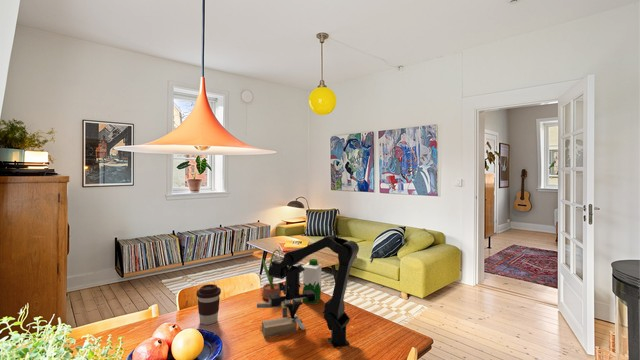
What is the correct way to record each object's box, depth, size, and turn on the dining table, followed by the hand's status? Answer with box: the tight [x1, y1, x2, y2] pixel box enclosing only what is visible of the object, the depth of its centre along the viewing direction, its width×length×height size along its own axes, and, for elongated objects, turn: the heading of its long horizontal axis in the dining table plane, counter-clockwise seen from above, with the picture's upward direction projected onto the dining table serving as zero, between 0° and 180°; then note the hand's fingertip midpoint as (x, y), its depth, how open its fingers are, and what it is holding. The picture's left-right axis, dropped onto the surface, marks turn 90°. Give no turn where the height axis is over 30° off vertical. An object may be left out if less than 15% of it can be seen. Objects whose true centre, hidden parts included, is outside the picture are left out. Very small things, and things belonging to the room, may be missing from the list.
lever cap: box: [294, 314, 306, 331], centre depth 135 cm, size 4×6×2 cm
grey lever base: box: [261, 308, 298, 339], centre depth 135 cm, size 12×13×6 cm
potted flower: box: [261, 248, 285, 301], centre depth 167 cm, size 12×10×25 cm
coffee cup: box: [195, 283, 222, 326], centre depth 140 cm, size 10×10×15 cm
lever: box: [256, 302, 288, 309], centre depth 140 cm, size 14×4×2 cm, turn 94°
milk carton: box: [301, 258, 323, 305], centre depth 163 cm, size 9×9×20 cm
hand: (292, 318), depth 134 cm, fingers closed
